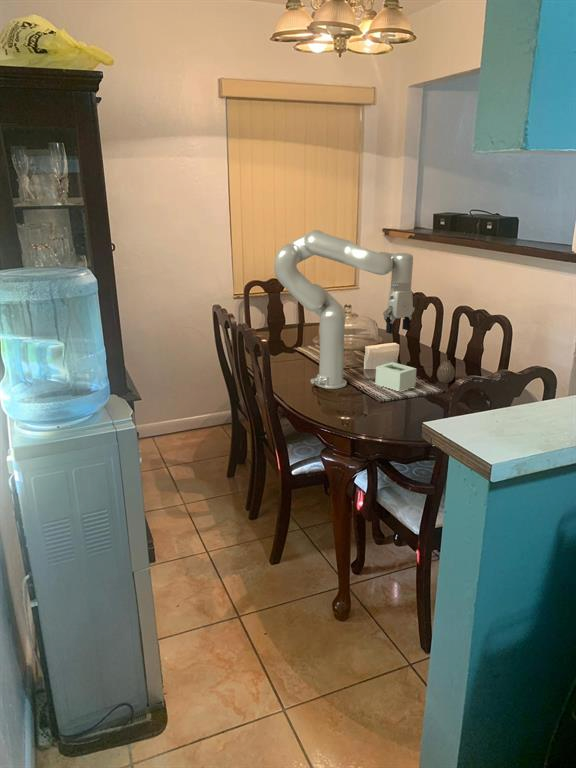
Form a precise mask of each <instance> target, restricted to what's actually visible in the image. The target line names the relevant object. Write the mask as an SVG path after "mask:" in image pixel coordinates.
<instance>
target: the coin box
mask: <svg viewBox="0 0 576 768" xmlns="http://www.w3.org/2000/svg"><path fill="white" fill-rule="evenodd" d="M416 379H417V368H415V367H413V366H408V365H405V364H403V363H402V364H401V363H398V362H393V361H391V362H387V363H384V364H381V365H378V366H376V367H375V380H374V383H375V384H377V385H380V386H384V387H387V388H390V389H393V390H396V391H401V390H405V389H408V388H411V387H414V386H415V387H416Z"/></svg>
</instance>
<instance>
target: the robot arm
mask: <svg viewBox="0 0 576 768" xmlns="http://www.w3.org/2000/svg"><path fill="white" fill-rule="evenodd" d="M312 256H318V257H321V258H322V259H323V258H324V259H327V260H331V261H334V262H337V263H341V264H343V265H345V266H350V267H352V268H356V269H359V270H361V271H365V272H368V273H371V274H375V275H379V276H385V275H388V274H390V272H391V281H390V291H389V295H388V300H387V308H386V310H384V311H383V313H382V315H383V319H384V320H385V323H386V326H385V327H386V328H385V332H386V333H388V334H390V335H393V334H394V333H395V332H394V330H395V324H394V322H395V320H396V319H402V330H406V331H410V330H411V321H412V319H413V318H412V317H413V315H414V312H415V309H416V308H415V307H414V306H413V304H414V303H413V302H414V300H413V299H414V298H413V296H414V295H413V290H412V283H413V282H412V279H413V265H414V256H413V254H412V253H408V252H407V253H406V252H404V253H403V252H401V253H400V252H399V253H390V252H385V251H384V252H383V251H379V252H377V251H374V250H370V249H368V248H365V247H362V246H359V245H358V244H356V243H355V242H353V241H351V240H348V239H345V238H341V237H338V236H333V235H331V234H328V233H325V232H323V231H322V230H318V229H315V230H312V231H310V232H307V234H305V235H303V236H301V237H298V238H297V239H295V240H293V241H291V242H289V243H286V244H285V245H284V246H282V247H281V248H279V250H278V251H277V253H276V255H275V257H274V263H273V270H274V274H275V277H276V279H277V281H278V282H279V284H281V285H282V287H284V289H285V290H287V292H288V293H290V295H292V297H294V298H295V300H297V302H298V303H300V304H301V306H302V307H303V308H305V310H306V311H309V312H314V313H315V314H316V315H317V316H318V317H319V366H318V367H319V368H318V369H319V372H318V374H317V375H316V377H315V378H311V379H310V384H315V386H317V387H319V388H322V389H328V390H329V389H331V390H334V389H341V388H344V387H346V386H347V383H348V382H347V380H346V379H344V359H345V358H344V357H345V356H344V353H345V327H346V312H345V309H344V307H343V306H342V304H341V303H340V302H339V301H338V300H336V298H334V296H332V294H330V293H329V292H328V290H326V289H325V288H324V287H323V286H322V285H319V284H318V283H312V282H311V281H310V280H309V279H308V278H307V277H306V276H305V275H304V274H303V273H302V272H301V271H300V270H299V269H298V267H297V265H298V264H299V263H301V262H303V261H305V260H307V259H309V258H311V257H312Z"/></svg>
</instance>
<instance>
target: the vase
mask: <svg viewBox="0 0 576 768" xmlns="http://www.w3.org/2000/svg"><path fill="white" fill-rule="evenodd" d="M455 373H456V371H455V367H454V366H453V364H452V363H451V360H448V359H447V360H446V359H445V360H443V362H442V363H441V364H440V365H439V366H438V367H437V372H436V376H437V379H438V380H439V382H441V383H444V384H449V383H451V382H452V381H453V380H454V378H455V375H456V374H455Z"/></svg>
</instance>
